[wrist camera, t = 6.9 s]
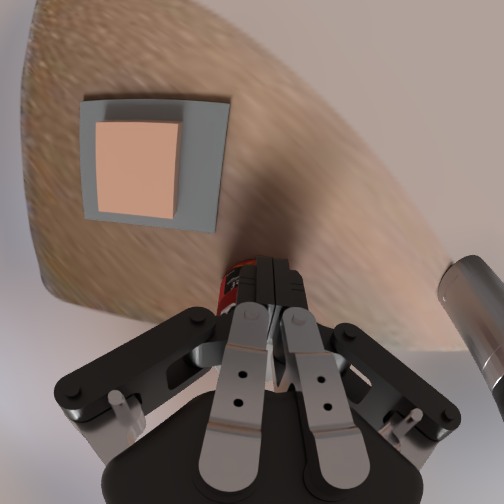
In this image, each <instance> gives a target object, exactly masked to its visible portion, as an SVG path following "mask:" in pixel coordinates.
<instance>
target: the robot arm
mask: <svg viewBox="0 0 504 504" xmlns="http://www.w3.org/2000/svg"><path fill="white" fill-rule="evenodd" d="M303 285H304V284H303V279H302V276H301V275H300V274H299V273H298V271H296V270H289V265H288V259H281V258H274V257H273V258H272V257H266V256H258V255H257V257H256V262H255V265H248V264H245V265H244V266H243V267H242V268H241V269H240V274H239V282H238V289H237V296H236V306H235V309H234V310H233V311H232V312H230V313H228V314H225V315H220V316H215V315H214V314H213V312H211V311H210V310H208V309H206V308H203V307H191V308H188V309H186V310H184V311H182V312H181V313H179V314H177V315H175V316H173V317H172V318H170V319H168V320H166V321H165V322H163V323H161V324H159V325H157V326H156V327H154V328H152V329H150V330H148V331H147V332H145V333H143V334H141V335H140V336H138V337H136V338H134V339H132V340H130V341H129V342H127V343H125V344H123V345H121V346H120V347H118V348H116V349H114V350H112V351H111V352H109V353H107V354H105V355H103V356H101V357H99V358H97V359H96V360H94V361H92V362H90V363H88V364H86V365H85V366H83V367H81V368H79V369H77V370H75V371H73V372H72V373H70V374H68V375H66V376H64V377H62V378H61V379H60V380H59V381H58V382H57V384H56V385H55V388H54V397H55V400H56V401H57V403H58V404H59V406H60V407H61V408H62V410H63V411H64V414H65V415H66V417H67V418H68V419H69V421H70V422H71V423H72V424H73V426H74V427H75V428H76V429H77V430H78V431H79V432H80V433H81V434H82V435H83V436H84V437H85V438H86V440H87V441H88V443H89V444H90V445H91V447H92V448H93V449H94V451H95V452H96V454H97V455H98V456H99V457H100V459H101V460H102V462H103V463H104V464H105V465H106V468H105V470H104V472H103V475H102V480H101V488H102V493H103V496H104V499H105V502H106V504H420V501H421V498H422V495H423V480H422V476H421V474H420V472H419V470H420V469H421V467H422V466H423V465H424V463H425V462H426V460H427V459H428V458H429V456H430V455H431V453H432V451H433V450H434V448H435V447H436V445H437V444H438V443H439V442H440V441H442V440H443V439H444V438H445V437H447V436H448V435H449V434H450V433H452V432H453V431H454V430H455V429H456V428H458V426H459V425H460V423H461V414H460V412H459V410H458V408H457V407H456V406H455V405H454V404H452V402H450V401H449V400H448V399H447V398H446V397H444V396H443V395H442V394H440V393H439V392H438V391H437V390H436V389H434V388H433V387H432V386H431V385H429V384H428V383H427V382H426V381H425V380H423V379H422V378H421V377H420V376H418V375H417V374H416V373H415V372H413V371H412V370H411V369H410V368H408V367H407V366H406V365H405V364H403V363H402V362H401V361H400V360H398V359H397V358H396V357H395V356H393V355H392V354H391V353H390V352H388V351H387V350H386V349H385V348H383V347H382V346H381V345H380V344H378V343H377V342H376V341H375V340H373V339H372V338H371V337H370V336H368V335H367V334H366V333H365V332H363V331H362V330H361V329H360V328H358V327H357V326H355V325H353V324H350V323H341V324H338V325H337V326H336V327H335V329H332V328H329V327H326V326H323V325H320V324H318V323H317V322H316V319H315V317H314V315H313V314H312V313H311V312H310V311H308V305H307V300H306V294H305V289H304V286H303ZM438 300H439V301H440V303H441V304H442V306H443V308H444V309H445V311H446V312H447V314H448V315H449V317H450V319H451V320H452V322H453V324H454V325H455V327H456V329H457V330H458V332H459V334H460V335H461V337H462V339H463V340H464V342H465V344H466V346H467V347H468V349H469V351H470V353H471V355H472V356H473V358H474V360H475V362H476V364H477V365H478V367H479V369H480V371H481V373H482V375H483V377H484V379H485V381H486V383H487V385H488V387H489V389H490V391H491V393H492V395H493V397H494V399H495V402H496V403H497V406H498V409H499V411H500V414H501V416H502V419H503V421H504V283H503V282H502V281H501V280H500V278H499V277H498V276H497V275H496V274H495V273H494V272H493V271H492V269H491V268H490V267H489V266H488V265H487V264H486V263H485V262H484V261H483V260H482V259H481V258H480V257H479V256H476V255H470V256H466V257H464V258H462V259H460V260H459V261H457V262H456V263H455V264H454V265H453V266H452V267H451V268H450V269H449V270H448V271H447V272H446V274H445V275H444V277H443V278H442V280H441V282H440V285H439V288H438ZM267 344H270V345H273V350H272V354H271V357H270V360H271V368H272V377H273V385H274V392H272V391H268V390H265V380H266V369H267V357H268V350H266V345H267ZM351 364H352V365H353V366H354V367H355V368H356V369H357V370H359V371H360V372H361V373H362V374H363V375H364V376H366V377H367V378H368V379H369V380H370V382H371V385H372V387H371V386H370V385H368V384H367V383H366V382H365V381H364V380H362V379H361V378H360V377H359V376H358V375H357V374H356V373H354V372H353V371H352V370H351V369H350V366H351ZM219 365H221V369H220V373H219V378H218V382H217V387H216V390H214V391H209V392H206V393H203V394H201V395H199V396H197V397H195V398H193V399H192V400H191V401H189V402H188V403H187V404H186V405H184V406H183V407H182V408H180V409H179V410H178V411H177V412H175V413H174V414H173V415H171V416H170V417H169V418H168V419H166V420H165V421H164V422H162V423H161V424H160V425H158V426H157V427H156V428H154V429H153V430H152V431H150V432H149V433H148V434H146V435H145V436H144V437H142V438H141V439H139V440H138V441H137V442H135V440H136V439H137V437H138V436H139V435H140V434H141V433H142V432H143V431H144V429H145V427H146V420H145V416H146V415H147V414H149V413H150V412H152V411H153V410H154V409H156V408H157V407H159V406H160V405H162V404H163V403H165V402H166V401H168V400H169V399H171V398H172V397H173V396H175V395H176V394H178V393H179V392H181V391H182V390H183V389H185V388H186V387H188V386H189V385H190V384H192V383H193V382H194V381H196V380H197V379H199V378H200V377H202V376H203V375H204V374H206V373H207V372H208V371H209V370H210V369H211V368H212V366H219ZM134 442H135V443H134Z"/></svg>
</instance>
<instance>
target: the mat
mask: <svg viewBox="0 0 504 504" xmlns="http://www.w3.org/2000/svg"><path fill="white" fill-rule="evenodd" d="M229 110H230V104H228V103H218V102H207V101H193V100H174V99H111V100H93V101H82V102H80V167H81V184H82V196H83V206H84V215H85V219H92V220H101V221H111V222H120V223H129V224H137V225H146V226H155V227H163V228H172V229H180V230H189V231H197V232H205V233H213V234H215V229H216V219H217V209H218V200H219V190H220V181H221V173H222V164H223V156H224V148H225V140H226V132H227V124H228V117H229ZM102 120H164V121H182V122H183V125H182V136H181V149H180V162H179V178H178V198H177V212H176V214H175V216H174V218H173V219H168V218H159V217H150V216H140V215H131V214H121V213H111V212H101V211H99V209H98V196H97V179H96V122H99V121H102Z"/></svg>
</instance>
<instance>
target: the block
mask: <svg viewBox="0 0 504 504" xmlns="http://www.w3.org/2000/svg"><path fill="white" fill-rule="evenodd" d="M182 125H183V122H182V121H164V120H102V121H99V122H96V179H97V196H98V209H99V211H101V212H111V213H121V214H131V215H140V216H150V217H159V218H168V219H173V218H174V216H175V214H176V212H177V198H178V178H179V162H180V149H181V136H182Z"/></svg>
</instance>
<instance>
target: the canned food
mask: <svg viewBox="0 0 504 504" xmlns="http://www.w3.org/2000/svg"><path fill="white" fill-rule="evenodd" d="M255 262H256V259H254V260H247V261H243V262H240V263H238V264H236V265H235V266H233V267H232V268H231V269H230V270H229V271H228V272H227V274H226V275H225V277H224V278H223V280H222V283H221V287H220V294H219V301H218V308H217V315H216V316H220V315H225V314H228V313H230V312H232V311H233V310H234V309H235V306H236V296H237V289H238V282H239V274H240V269H241V268H242V267H243V266H244V265H245V264H248V265H255ZM266 350H268V357H267V369H266V380H265V382H269V381H273V377H272V368H271V360H270V357H271V354H272V350H273V345H270V344H267V345H266ZM214 367H215V369H216V370H217V371H218V372H219V373H220V369H221V365H219V366H214Z"/></svg>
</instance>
